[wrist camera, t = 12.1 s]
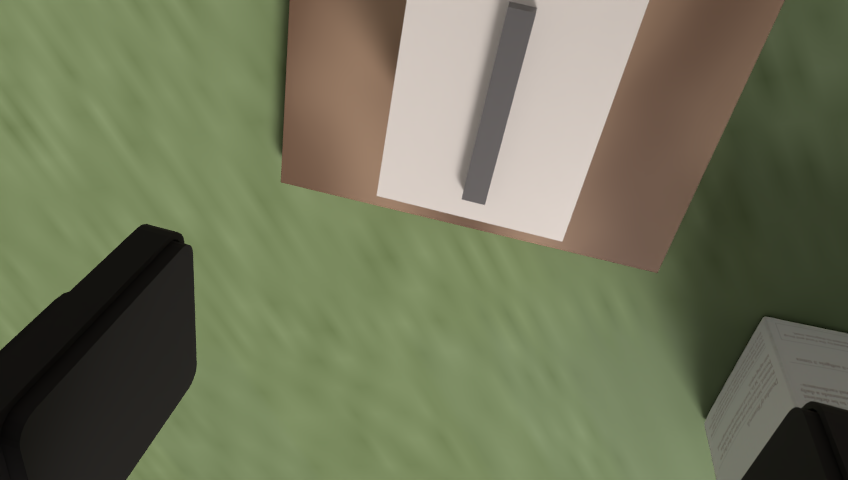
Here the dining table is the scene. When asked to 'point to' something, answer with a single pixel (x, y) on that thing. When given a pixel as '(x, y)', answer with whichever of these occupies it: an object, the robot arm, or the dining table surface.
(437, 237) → the dining table surface
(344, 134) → the brown rectangular plate
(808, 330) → the supplement box
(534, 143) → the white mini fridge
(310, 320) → the dining table surface
